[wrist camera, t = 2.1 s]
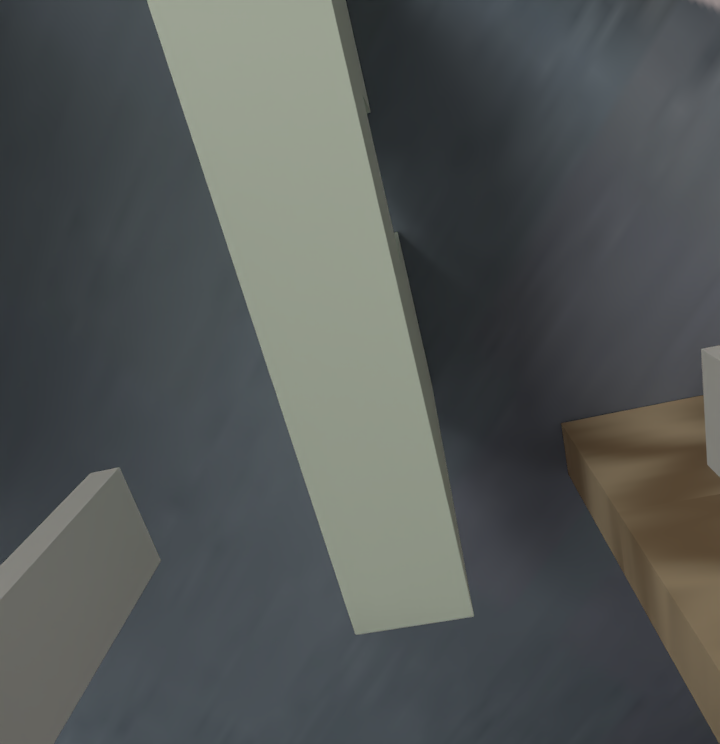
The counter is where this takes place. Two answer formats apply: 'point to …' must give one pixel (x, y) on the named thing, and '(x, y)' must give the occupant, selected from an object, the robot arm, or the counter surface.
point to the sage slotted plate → (324, 289)
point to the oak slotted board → (660, 526)
